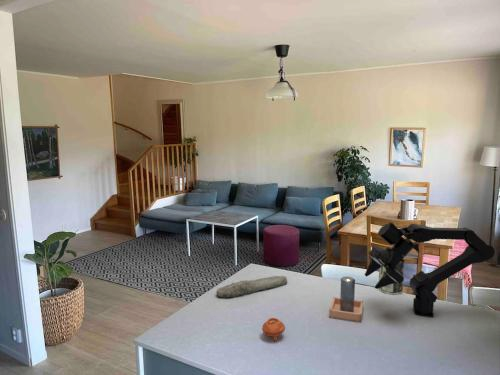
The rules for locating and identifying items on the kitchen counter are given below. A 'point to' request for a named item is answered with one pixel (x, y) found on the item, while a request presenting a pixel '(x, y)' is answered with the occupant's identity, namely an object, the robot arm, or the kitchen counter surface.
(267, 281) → the elongated rock
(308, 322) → the kitchen counter surface
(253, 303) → the kitchen counter surface
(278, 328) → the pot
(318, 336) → the kitchen counter surface
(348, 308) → the dark grey cylinder
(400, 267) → the coffee can
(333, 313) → the terracotta bin
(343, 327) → the kitchen counter surface
